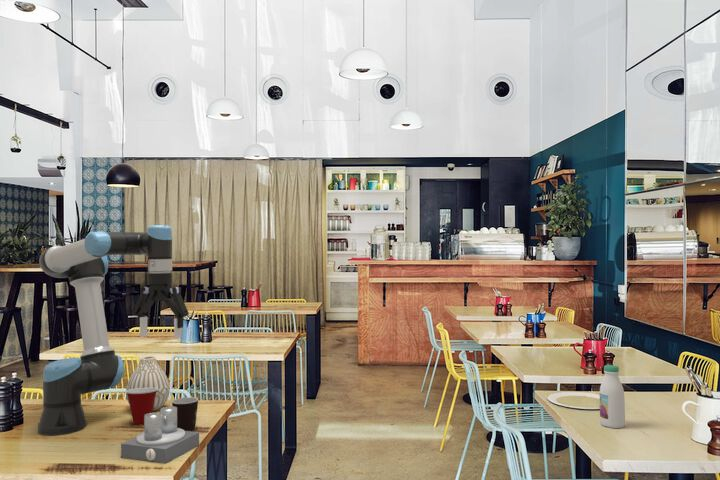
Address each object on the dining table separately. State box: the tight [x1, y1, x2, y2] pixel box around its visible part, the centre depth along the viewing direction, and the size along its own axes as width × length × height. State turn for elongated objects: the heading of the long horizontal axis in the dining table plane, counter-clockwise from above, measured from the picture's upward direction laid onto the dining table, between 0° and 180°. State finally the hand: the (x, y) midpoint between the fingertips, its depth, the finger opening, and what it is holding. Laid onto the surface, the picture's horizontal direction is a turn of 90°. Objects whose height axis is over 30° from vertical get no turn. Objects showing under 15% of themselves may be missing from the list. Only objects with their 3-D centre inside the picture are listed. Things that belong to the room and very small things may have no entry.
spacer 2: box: [159, 405, 177, 434], centre depth 177 cm, size 5×5×7 cm
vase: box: [125, 355, 171, 412], centre depth 221 cm, size 16×16×20 cm
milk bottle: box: [599, 364, 626, 429], centre depth 193 cm, size 8×8×20 cm
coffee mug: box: [171, 396, 199, 432], centre depth 196 cm, size 12×9×10 cm
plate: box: [547, 391, 600, 411], centre depth 223 cm, size 25×25×1 cm
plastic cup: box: [125, 388, 158, 426], centre depth 204 cm, size 11×11×12 cm
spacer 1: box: [143, 411, 162, 441], centre depth 171 cm, size 5×5×7 cm
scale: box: [120, 428, 200, 464], centre depth 174 cm, size 16×17×5 cm
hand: (160, 337), depth 187 cm, fingers open, 13 cm apart
